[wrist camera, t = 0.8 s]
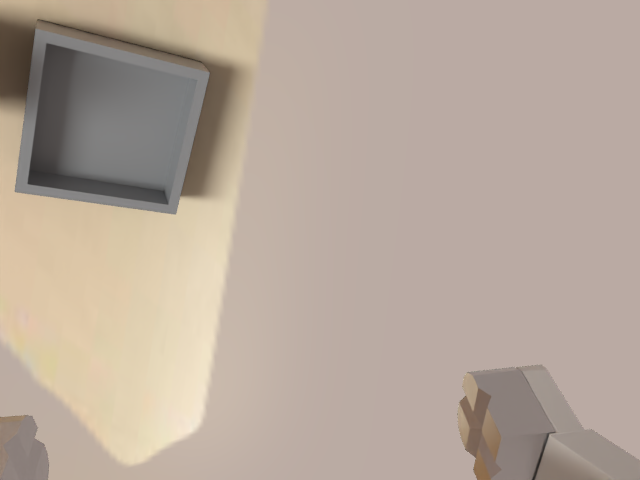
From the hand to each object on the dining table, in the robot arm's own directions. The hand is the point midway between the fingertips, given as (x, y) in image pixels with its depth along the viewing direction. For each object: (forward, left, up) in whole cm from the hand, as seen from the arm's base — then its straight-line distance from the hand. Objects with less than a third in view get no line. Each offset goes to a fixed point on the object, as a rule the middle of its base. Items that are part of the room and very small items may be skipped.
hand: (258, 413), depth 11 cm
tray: (+7, +1, -44) cm, 44 cm away
